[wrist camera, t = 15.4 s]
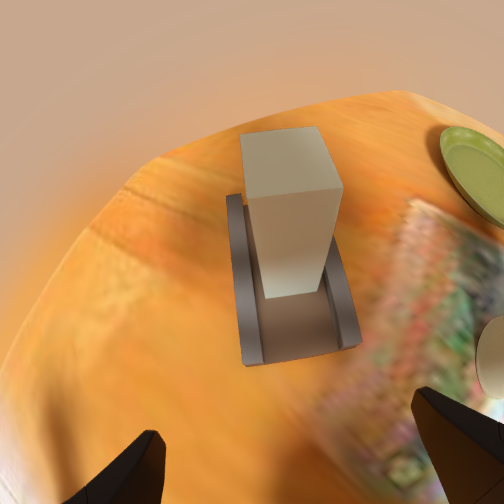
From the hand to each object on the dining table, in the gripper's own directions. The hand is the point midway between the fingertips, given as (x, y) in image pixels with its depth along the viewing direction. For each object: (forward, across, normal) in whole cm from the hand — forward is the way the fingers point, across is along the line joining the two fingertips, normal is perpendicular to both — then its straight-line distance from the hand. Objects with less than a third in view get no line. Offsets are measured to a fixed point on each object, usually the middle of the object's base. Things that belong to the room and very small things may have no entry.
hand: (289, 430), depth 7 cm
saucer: (+24, -36, -4) cm, 43 cm away
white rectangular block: (+18, -2, +1) cm, 18 cm away
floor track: (+18, -2, +1) cm, 18 cm away
